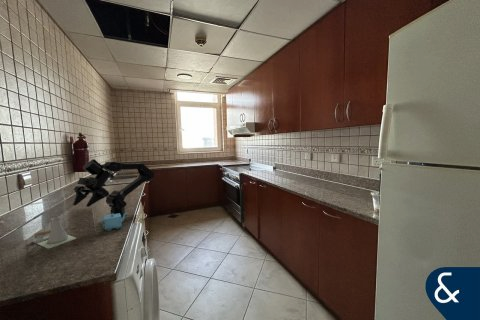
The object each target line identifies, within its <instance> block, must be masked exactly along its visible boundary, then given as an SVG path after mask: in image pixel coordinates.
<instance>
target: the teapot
mask: <svg viewBox="0 0 480 320" xmlns="http://www.w3.org/2000/svg"><path fill="white" fill-rule="evenodd" d="M126 214H128V212H125V214H124V215H123V217H122V218H121V215H120V213H118V214H111V213H110V214H109V215H104V216H103V218H101V220H100V223H101V224H102V228H104V230H105V231H107V232H111V231H112V229H116V230H118V229H120V228H121V227H123V224H122V223H123V222H124V220H125V219H126V218H125V217H126V216H127V215H126Z"/></svg>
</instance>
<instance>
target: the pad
mask: <svg viewBox="0 0 480 320" xmlns="http://www.w3.org/2000/svg"><path fill="white" fill-rule="evenodd" d="M67 235H68V238H67V239H65V240H63V241H61V242H57V243H47V241H48V240H45V241H41V242H38V243H36V244H37V245H39V246H41V247H43V248H45V249H48V250H49V249H51V248H54V247H57V246H60V245H63V244H66V243H68V242H70V241H74V240H76V239H77V237H74V236H72V235H69V234H67Z"/></svg>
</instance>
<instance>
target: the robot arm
mask: <svg viewBox="0 0 480 320" xmlns="http://www.w3.org/2000/svg"><path fill="white" fill-rule="evenodd" d="M82 169H83V170H84V171H86V172H87V173H89V174H90V175H92V176H93V177H92V176H89V177H79V178H78V181H77V185H76V186H75V187H74V188H73V191H74V192H75V198H74V201H73V206H77V205H79V204H80V203H81V202H82V201H83V200H84V199H86V198H87V196H88V195H89V194H92V195H91V197H90V198H89V200H88V202H87V204H86V206H85V207H88V208H89V207H91V206H92V205H94V204H96V203H97V202H99V201H101V200H102V199H105V198H106V199H105V204H107V205H108V206H109V207H110V211H109V212H110V214H118V213H120V215H121V218H122V217H123V215H124V214H125V213H126V210H125V209H126V208H125V207H127V204H128V203H127V202H126V201H125V200H126V199H125V198H126V197H127V196H128V195H129V194H131V193H132V192H133V191H135V190H136V189H137V188H138V187H140V186H141V185H142V184H143V183H147V182H149V181H151V180H153V179H154V177H155V173H154V171H152V170H151V169H150V168H149V167H147V165H145V164H144V163H142V162H137V163H126V162H125V163H122V162H120V161H119V162H118V161H105V162H104V164H101V163H99V162H98V160H97V159H95V158H94V159H93V158H92V159H91V160H89V161H88V162H86V163H85V164H84V165H83V166H82ZM122 170H123V171H124V170H136V171H137V173H138V174H139V175H138V176H137V178H135V179H134V180H133V181H132V182H130V183H129V184H127V185H126V186H124V187H123V188H122V189H121V190H119V191H118V190H113V191H112V192H111V193H110V192H109V191H108V190H107V189H106V188H105V187H106V183H107V181H108V180H109V179H114V178H115V177H114V173H113V172H119V171H122ZM111 172H112V173H111ZM127 214H128V213H127ZM127 214H126V215H125V216H127Z"/></svg>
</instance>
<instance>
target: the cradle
mask: <svg viewBox="0 0 480 320" xmlns="http://www.w3.org/2000/svg"><path fill="white" fill-rule="evenodd" d="M49 235H50V234H48V235H45V236H44V235H42V234H41V235H38V236H36V237H34V236H32V239H33V240H32V241H31V242H33V243H34V244H37V243H40V242H43V241H46V240H48V238H49Z"/></svg>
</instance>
